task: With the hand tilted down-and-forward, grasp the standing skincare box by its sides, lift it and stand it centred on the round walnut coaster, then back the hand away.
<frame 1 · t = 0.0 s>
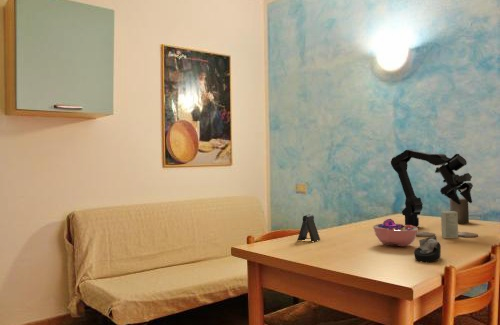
hand: (465, 203, 207), 15 cm above the table, tool tilted 35°, fingers open, 9 cm apart
walnut coaster: (465, 235, 205), on the table
black folding stand: (308, 240, 203), on the table
pillar candle: (459, 222, 243), on the table
skincare box: (449, 237, 201), on the table
cell model: (395, 246, 186), on the table
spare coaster: (422, 234, 209), on the table
caster wheel: (429, 260, 161), on the table
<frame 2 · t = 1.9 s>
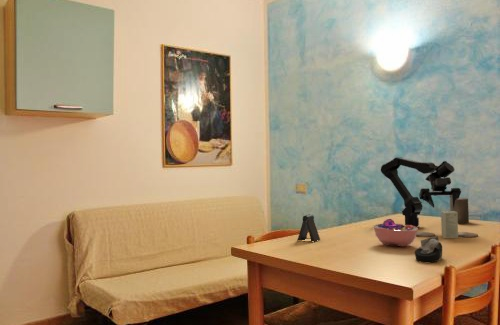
hand: (443, 206, 209), 13 cm above the table, tool tilted 45°, fingers open, 9 cm apart
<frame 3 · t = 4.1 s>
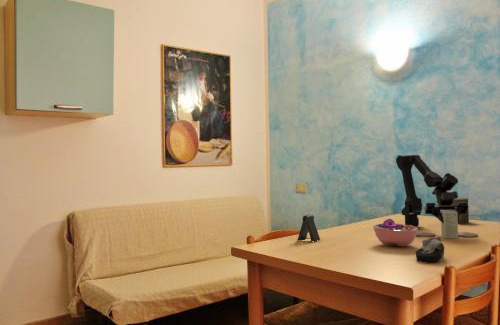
hand: (450, 222, 200), 7 cm above the table, tool tilted 45°, fingers closed on skincare box, 6 cm apart
skincare box: (449, 237, 201), on the table, touching gripper
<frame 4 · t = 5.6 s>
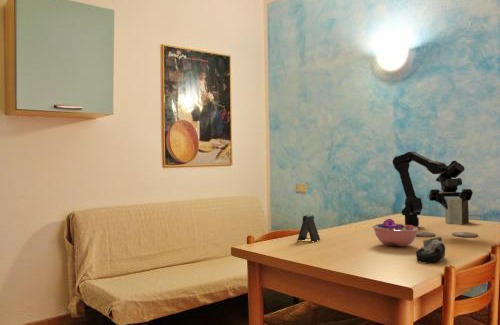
hand: (454, 208, 201), 13 cm above the table, tool tilted 45°, fingers closed on skincare box, 6 cm apart
skincare box: (453, 224, 202), point 6 cm above the table, touching gripper
when the fingers open (9 cm above the table, at t = 7.3 s): skincare box stays where it is, resting on walnut coaster.
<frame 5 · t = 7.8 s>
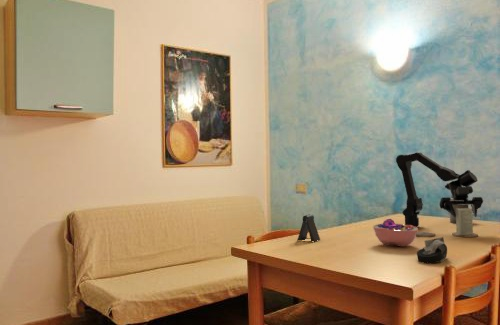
hand: (465, 216, 204), 9 cm above the table, tool tilted 45°, fingers open, 9 cm apart
skincare box: (464, 234, 205), resting on walnut coaster
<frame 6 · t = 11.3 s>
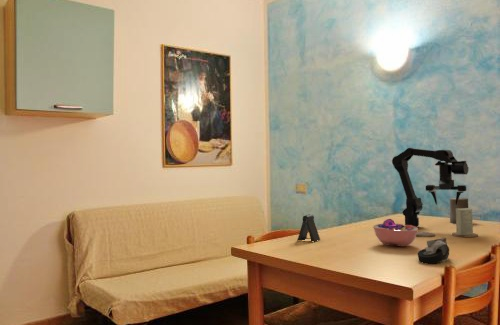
hand: (446, 204, 220), 13 cm above the table, tool pointing down, fingers open, 9 cm apart
at the end: skincare box 0.3 cm from the walnut coaster (horizontally); skincare box tilted 0°; the gripper is holding nothing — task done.
